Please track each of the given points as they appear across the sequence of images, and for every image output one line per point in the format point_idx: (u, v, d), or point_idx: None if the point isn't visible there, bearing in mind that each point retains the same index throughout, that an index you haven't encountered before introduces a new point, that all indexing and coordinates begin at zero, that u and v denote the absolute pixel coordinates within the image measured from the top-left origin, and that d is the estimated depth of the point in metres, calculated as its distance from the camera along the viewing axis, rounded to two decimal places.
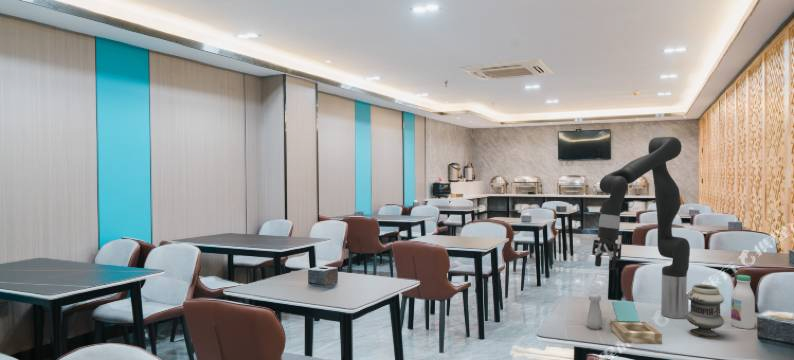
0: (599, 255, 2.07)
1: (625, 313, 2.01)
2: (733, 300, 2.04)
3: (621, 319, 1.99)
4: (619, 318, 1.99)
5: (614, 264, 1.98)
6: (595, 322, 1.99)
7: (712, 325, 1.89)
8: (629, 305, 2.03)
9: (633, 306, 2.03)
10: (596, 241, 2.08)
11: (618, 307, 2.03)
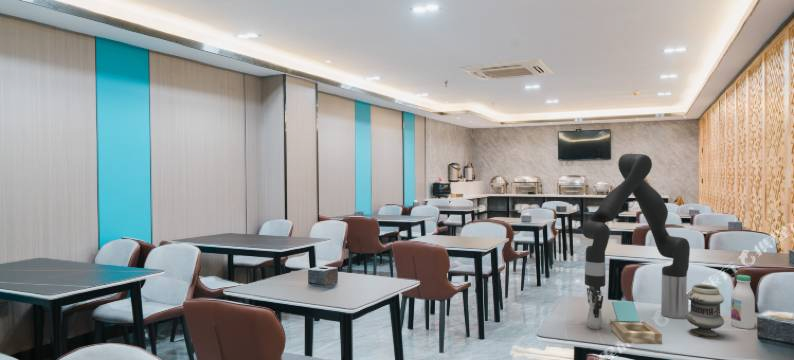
0: None
1: (625, 313, 2.01)
2: (733, 300, 2.04)
3: (621, 319, 1.99)
4: (619, 318, 1.99)
5: (597, 313, 1.99)
6: (595, 322, 1.99)
7: (712, 325, 1.89)
8: (629, 305, 2.03)
9: (633, 306, 2.03)
10: None
11: (618, 307, 2.03)
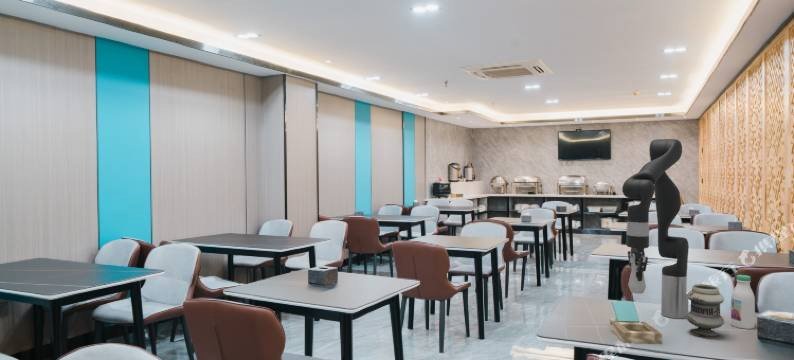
0: None
1: (625, 313, 2.01)
2: (733, 300, 2.04)
3: (621, 319, 1.99)
4: (619, 318, 1.99)
5: (640, 276, 1.87)
6: (638, 285, 1.88)
7: (712, 325, 1.89)
8: (629, 305, 2.03)
9: (633, 306, 2.03)
10: (629, 252, 1.96)
11: (618, 307, 2.03)
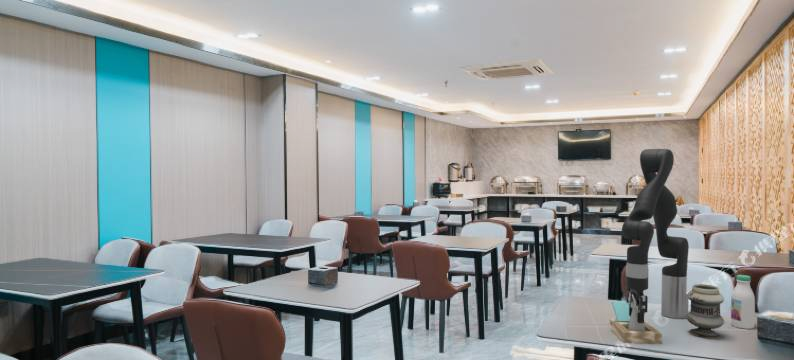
0: None
1: (625, 313, 2.01)
2: (733, 300, 2.04)
3: (621, 319, 1.99)
4: (619, 318, 1.99)
5: (642, 317, 1.85)
6: None
7: (712, 325, 1.89)
8: None
9: None
10: (628, 289, 1.96)
11: (618, 307, 2.03)
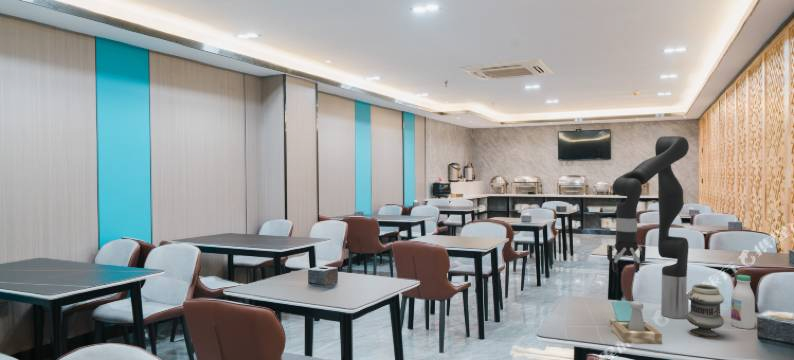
0: (635, 261, 2.01)
1: (625, 313, 2.01)
2: (733, 300, 2.04)
3: (621, 319, 1.99)
4: (619, 318, 1.99)
5: (613, 266, 2.02)
6: None
7: (712, 325, 1.89)
8: (629, 305, 2.03)
9: None
10: None
11: (618, 307, 2.03)
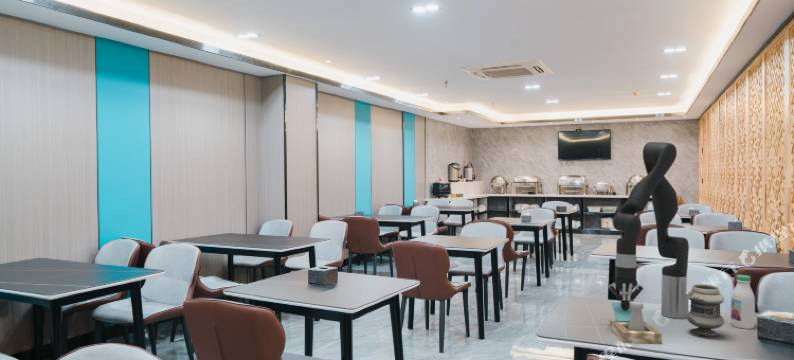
0: None
1: (625, 313, 2.01)
2: (733, 300, 2.04)
3: (621, 319, 1.99)
4: (619, 318, 1.99)
5: (621, 303, 2.02)
6: None
7: (712, 325, 1.89)
8: None
9: None
10: None
11: (618, 308, 2.03)
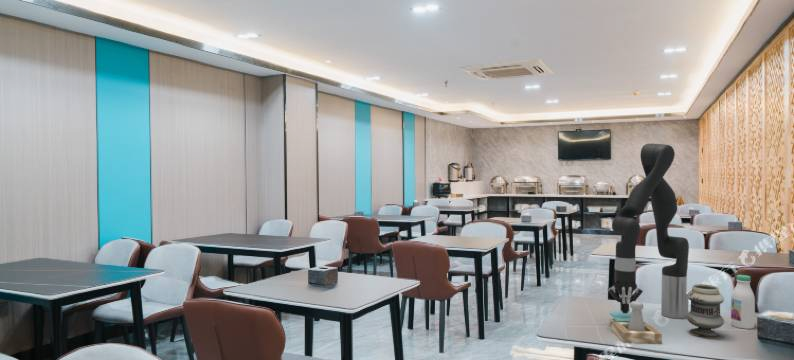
0: (625, 301, 2.02)
1: (624, 317, 2.02)
2: (733, 300, 2.04)
3: (621, 320, 1.99)
4: (618, 319, 2.00)
5: (621, 307, 2.03)
6: None
7: (712, 325, 1.89)
8: (627, 313, 2.06)
9: None
10: None
11: (616, 314, 2.05)
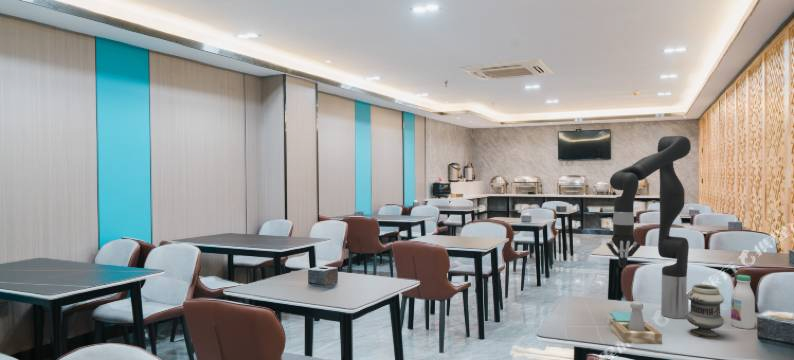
0: (623, 256, 2.05)
1: (624, 317, 2.02)
2: (733, 300, 2.04)
3: (621, 320, 1.99)
4: (618, 319, 2.00)
5: (619, 261, 2.05)
6: None
7: (712, 325, 1.89)
8: (627, 313, 2.06)
9: None
10: None
11: (616, 314, 2.05)
